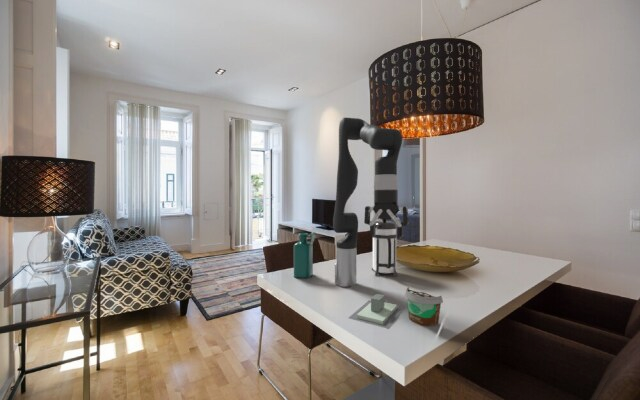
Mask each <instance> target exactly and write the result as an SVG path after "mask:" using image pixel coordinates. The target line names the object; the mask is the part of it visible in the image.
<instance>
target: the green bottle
mask: <svg viewBox="0 0 640 400" xmlns="http://www.w3.org/2000/svg"><path fill="white" fill-rule="evenodd" d="M297 234H298V235H297V236H299V241H297V242H296V243H294V245H293V277H295V278H297V277H301V278H300V279H308V278H310V277H311V276H312V275H313V274H314V273H313V271H314V268H313V267H314V263H313V262H314V258H313V256H314V254H313V251H314V250H313V249H314V248H313V247H314V246H313V243H314V242H315V237H316V233H315V232H311V233H308V232H299V233H297ZM308 237H310V241H308Z"/></svg>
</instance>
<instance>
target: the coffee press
mask: <svg viewBox="0 0 640 400" xmlns="http://www.w3.org/2000/svg"><path fill="white" fill-rule="evenodd" d="M375 226H376V236H375V237H372V268H371V271H372V270H374V271H373V272H375V273H374V276H376V277H379V275H380V274H392V275H393V276H394V277H397V276H398V272H397V227H398V225H397V224H396V223H395V222H394V221H389V220H387V219H382V220H378V221H377V222H376V224H375Z"/></svg>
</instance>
